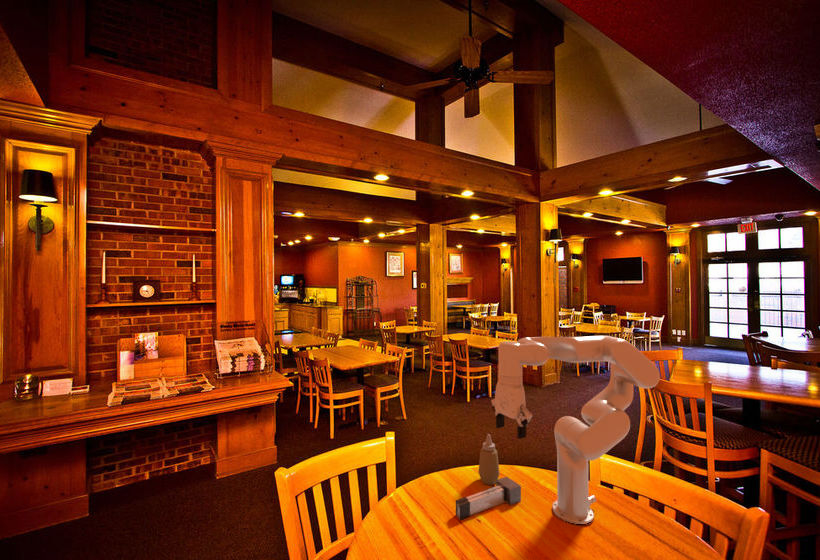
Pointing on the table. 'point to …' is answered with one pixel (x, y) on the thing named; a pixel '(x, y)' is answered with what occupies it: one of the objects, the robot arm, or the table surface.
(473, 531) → the table surface
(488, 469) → the squeeze bottle
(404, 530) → the table surface
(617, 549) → the table surface
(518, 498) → the tong base
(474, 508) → the tong arm
